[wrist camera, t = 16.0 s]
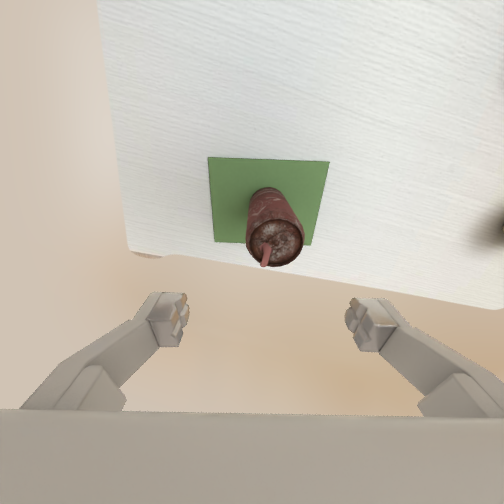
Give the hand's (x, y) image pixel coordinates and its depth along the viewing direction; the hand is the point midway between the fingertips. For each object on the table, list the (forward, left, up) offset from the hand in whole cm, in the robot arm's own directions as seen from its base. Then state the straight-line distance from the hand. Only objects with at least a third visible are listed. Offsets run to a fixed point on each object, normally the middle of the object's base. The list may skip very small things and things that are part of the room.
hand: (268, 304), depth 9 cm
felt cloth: (+1, -2, -24) cm, 24 cm away
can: (+1, -2, -23) cm, 23 cm away
